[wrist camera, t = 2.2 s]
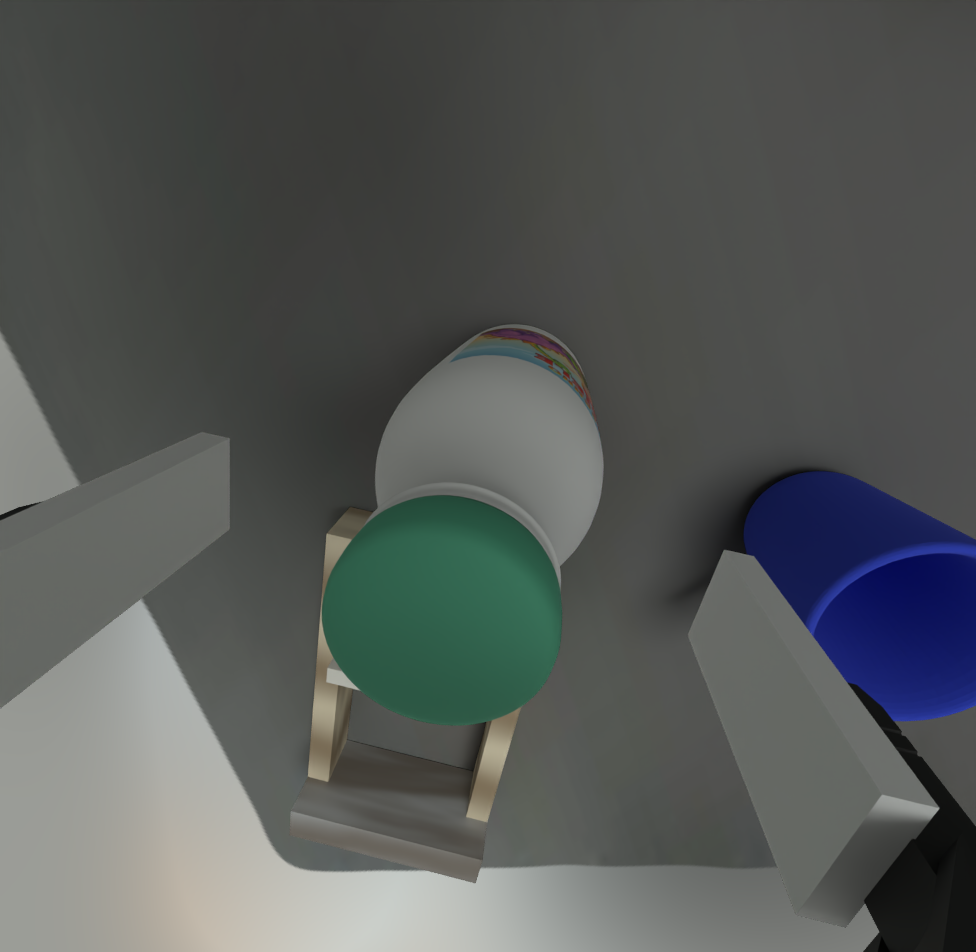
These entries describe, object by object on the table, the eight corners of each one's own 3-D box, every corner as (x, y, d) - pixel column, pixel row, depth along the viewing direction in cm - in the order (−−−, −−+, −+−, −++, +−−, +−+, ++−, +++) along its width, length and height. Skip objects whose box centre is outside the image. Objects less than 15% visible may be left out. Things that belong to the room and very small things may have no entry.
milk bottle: (502, 487, 30) (416, 836, 11) (416, 382, 28) (152, 592, 10) (615, 410, 27) (740, 696, 9) (528, 289, 26) (462, 335, 7)
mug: (638, 550, 30) (675, 672, 21) (832, 420, 26) (982, 501, 17) (719, 639, 32) (787, 789, 23) (914, 530, 28) (1092, 658, 19)
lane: (349, 506, 31) (306, 556, 26) (555, 554, 31) (556, 615, 25) (326, 757, 40) (289, 835, 35) (486, 798, 40) (475, 883, 34)
